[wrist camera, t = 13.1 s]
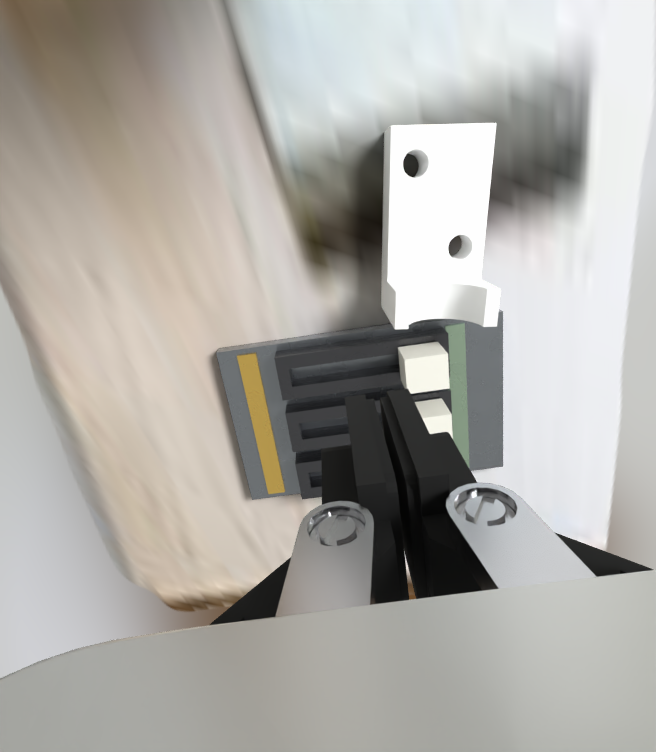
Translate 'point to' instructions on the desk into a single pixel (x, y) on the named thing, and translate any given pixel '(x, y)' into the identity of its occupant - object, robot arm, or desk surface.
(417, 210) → the bracket
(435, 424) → the handle
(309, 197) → the desk surface
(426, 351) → the block
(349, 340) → the breaker panel
